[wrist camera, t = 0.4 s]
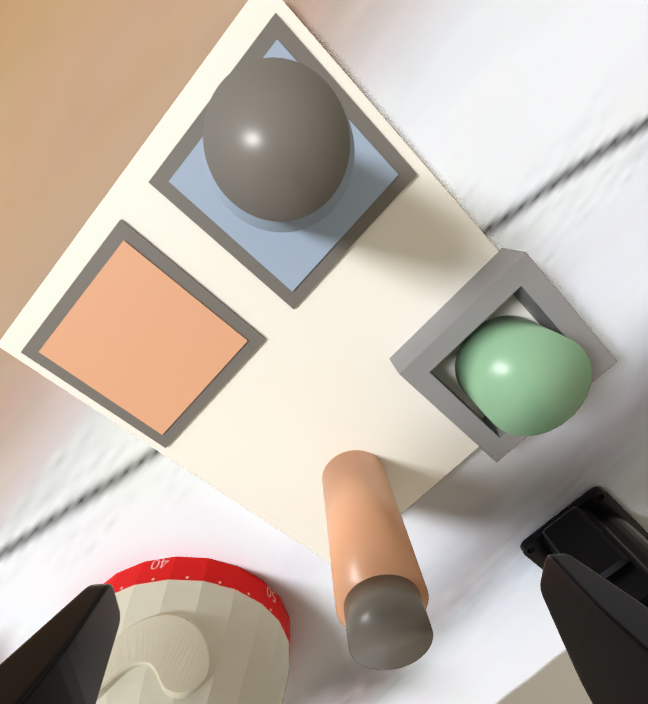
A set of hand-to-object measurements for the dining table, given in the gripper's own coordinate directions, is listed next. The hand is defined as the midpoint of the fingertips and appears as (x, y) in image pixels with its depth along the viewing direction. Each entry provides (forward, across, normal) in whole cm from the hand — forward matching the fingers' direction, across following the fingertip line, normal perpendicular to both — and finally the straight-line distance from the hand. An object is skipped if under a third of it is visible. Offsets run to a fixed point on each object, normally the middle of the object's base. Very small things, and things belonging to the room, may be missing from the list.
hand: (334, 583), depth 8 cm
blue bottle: (+12, +1, -9) cm, 15 cm away
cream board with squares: (+13, 0, -1) cm, 13 cm away
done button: (+11, -9, 0) cm, 14 cm away
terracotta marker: (+12, -2, +7) cm, 14 cm away
